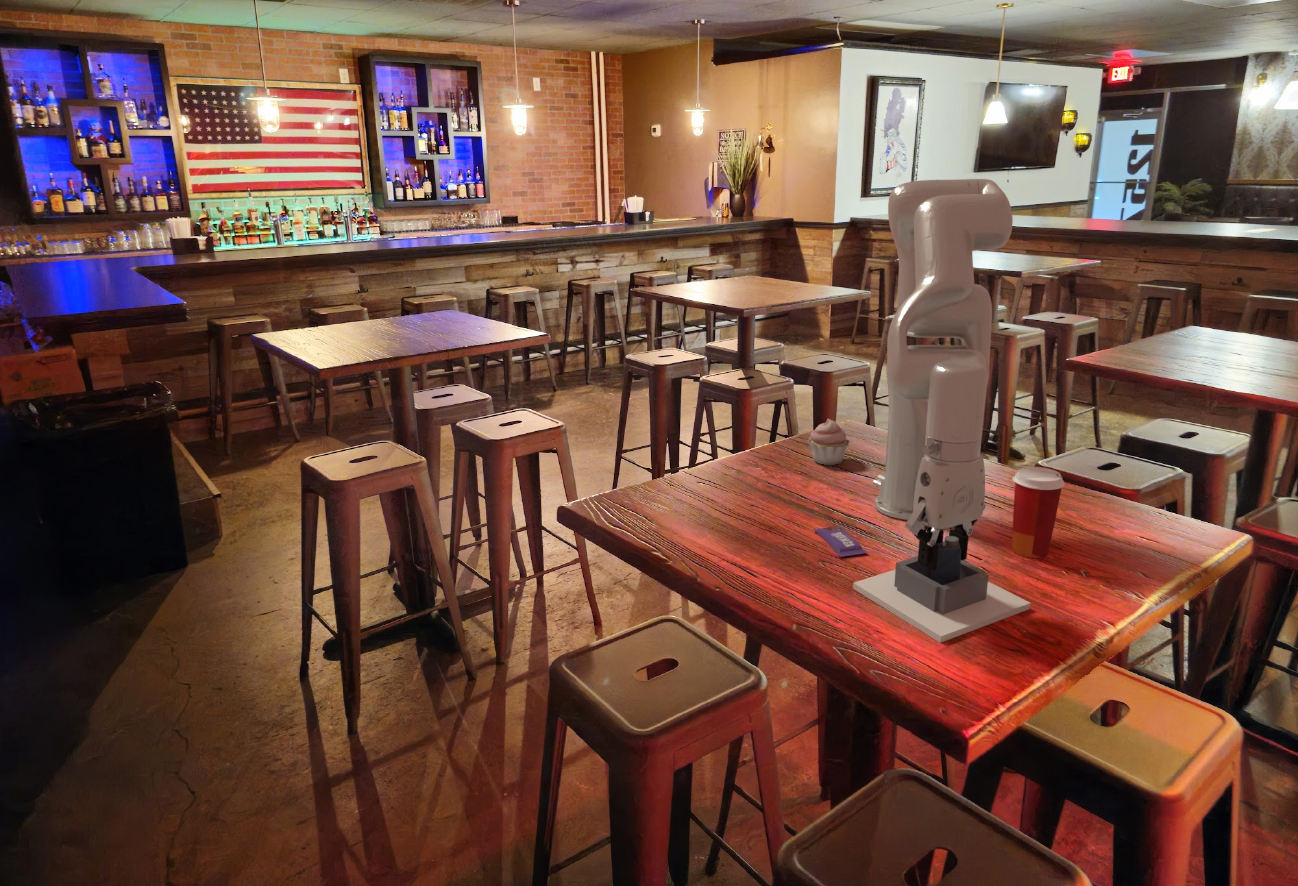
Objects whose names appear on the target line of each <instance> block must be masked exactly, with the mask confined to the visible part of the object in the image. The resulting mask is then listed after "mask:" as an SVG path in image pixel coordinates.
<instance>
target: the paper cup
mask: <svg viewBox="0 0 1298 886" xmlns="http://www.w3.org/2000/svg"><path fill="white" fill-rule="evenodd" d="M1011 479H1012V481H1013V483H1014V497H1013V515H1012V537H1011V548H1012V549H1011V550H1012V552H1014V553H1015V554H1017V555H1018V556H1021V557H1025V558H1029V559H1043V558H1045V557H1046V556H1048V554H1049V550H1050V547H1051V546H1050V545H1051V541H1052V537H1053V532H1054V527H1055V523H1056V519H1057V512H1058V508H1059V503H1060V498H1061V494H1062V493H1061V492H1062V488H1063V487H1064V486H1065V485H1066V484H1065V481H1064V480H1063V476H1062V475H1061V473H1060V472H1059V471H1057V470H1054V469H1051V468H1047V467H1042V466H1041V467H1040V466H1026V467H1022V468H1019V469H1018V470H1017V471H1016V472H1015V473H1014V476H1013V477H1012V478H1011Z"/></svg>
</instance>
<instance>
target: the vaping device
mask: <svg viewBox="0 0 1298 886" xmlns="http://www.w3.org/2000/svg"><path fill="white" fill-rule="evenodd" d="M931 529H932V528H930V527H928V528H927V531H926V532H927V533H928V534H929V535H930V532H931ZM944 530H945V529H943V530H940V531H939V534H938V537H937V540H936V543H935V544H936V545H938V558H937V568H936V569H935V570H930V569H929V568H927V567H926V577H928V578H929V579H931V580H933V581H935V582H937V583H939V584H940V585H945V584H948V583H951V582H954V581H957V580H960V565H961V548H960V544H959V538H957V537H955V536H949V535H948V536H945V537H944V532H945V531H944Z"/></svg>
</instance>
